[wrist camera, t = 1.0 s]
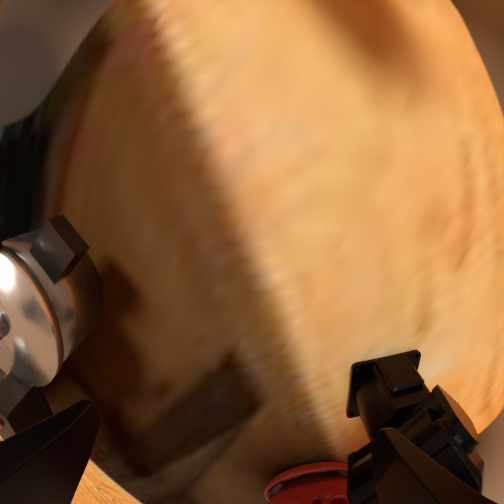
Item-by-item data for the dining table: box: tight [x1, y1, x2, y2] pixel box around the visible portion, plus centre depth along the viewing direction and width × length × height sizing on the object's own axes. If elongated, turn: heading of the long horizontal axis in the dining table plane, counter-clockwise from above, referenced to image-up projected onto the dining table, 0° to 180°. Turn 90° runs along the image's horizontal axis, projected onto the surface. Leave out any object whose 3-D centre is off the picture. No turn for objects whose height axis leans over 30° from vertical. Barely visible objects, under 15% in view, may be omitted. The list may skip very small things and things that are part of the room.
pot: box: [0, 215, 103, 382], centre depth 18 cm, size 23×10×6 cm, turn 132°
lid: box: [0, 227, 64, 440], centre depth 13 cm, size 23×10×5 cm, turn 176°
